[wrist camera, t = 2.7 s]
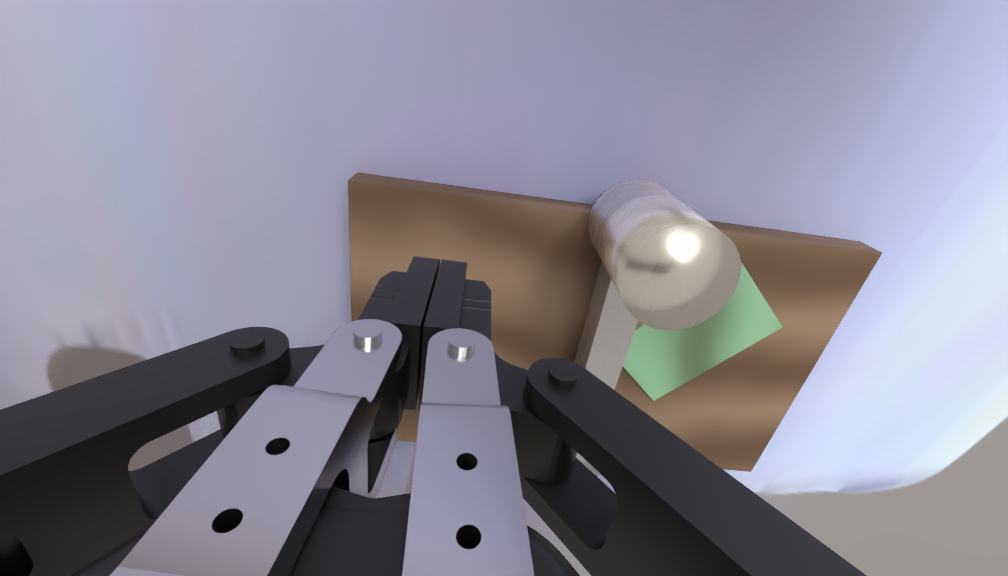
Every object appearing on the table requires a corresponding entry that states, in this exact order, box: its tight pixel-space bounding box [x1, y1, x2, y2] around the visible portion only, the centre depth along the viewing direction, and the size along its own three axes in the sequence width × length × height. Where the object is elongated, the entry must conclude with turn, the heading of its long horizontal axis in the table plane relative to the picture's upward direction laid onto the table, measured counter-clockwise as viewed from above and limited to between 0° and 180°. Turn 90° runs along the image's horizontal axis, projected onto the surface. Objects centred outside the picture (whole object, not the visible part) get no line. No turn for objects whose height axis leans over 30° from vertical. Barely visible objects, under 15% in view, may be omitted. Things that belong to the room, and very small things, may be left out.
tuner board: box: [348, 173, 882, 472], centre depth 25 cm, size 16×26×2 cm, turn 82°
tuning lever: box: [574, 179, 741, 476], centre depth 20 cm, size 16×4×6 cm, turn 172°
